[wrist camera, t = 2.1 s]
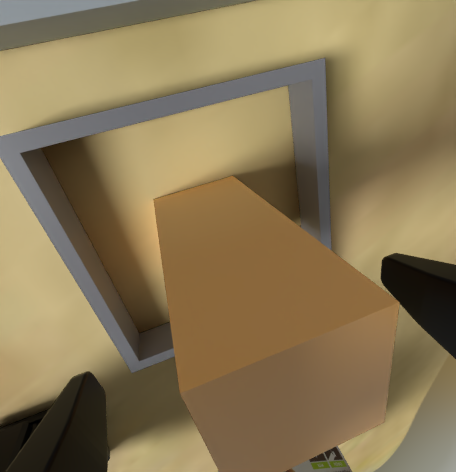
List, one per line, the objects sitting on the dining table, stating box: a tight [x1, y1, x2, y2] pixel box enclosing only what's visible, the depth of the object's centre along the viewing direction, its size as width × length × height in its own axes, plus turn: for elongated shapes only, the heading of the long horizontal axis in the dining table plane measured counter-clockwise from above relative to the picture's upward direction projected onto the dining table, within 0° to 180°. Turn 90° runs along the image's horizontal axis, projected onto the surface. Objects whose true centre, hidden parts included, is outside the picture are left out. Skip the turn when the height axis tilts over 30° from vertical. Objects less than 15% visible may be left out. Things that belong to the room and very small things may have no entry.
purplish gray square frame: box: [0, 58, 331, 373], centre depth 13 cm, size 12×12×2 cm
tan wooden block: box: [153, 176, 400, 472], centre depth 10 cm, size 4×4×10 cm
